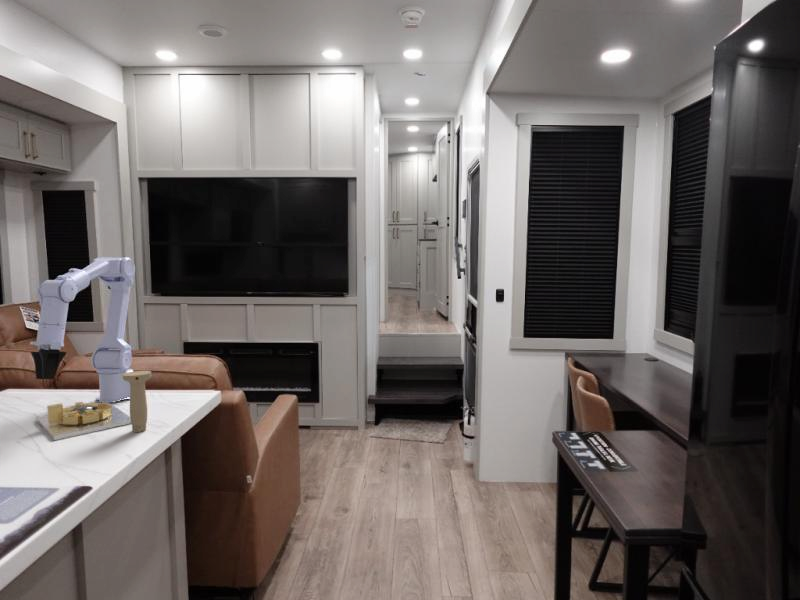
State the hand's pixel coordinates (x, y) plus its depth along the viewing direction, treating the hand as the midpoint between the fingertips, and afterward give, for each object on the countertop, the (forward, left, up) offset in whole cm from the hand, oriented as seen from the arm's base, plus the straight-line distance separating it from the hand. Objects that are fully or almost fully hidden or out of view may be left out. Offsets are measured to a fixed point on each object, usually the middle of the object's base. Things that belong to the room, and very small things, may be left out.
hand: (44, 379), depth 126 cm
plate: (-9, -1, -13) cm, 16 cm away
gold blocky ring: (-8, -1, -12) cm, 14 cm away
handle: (-17, +16, -14) cm, 27 cm away
